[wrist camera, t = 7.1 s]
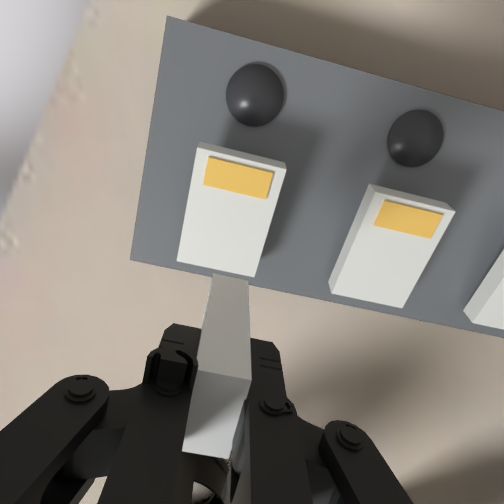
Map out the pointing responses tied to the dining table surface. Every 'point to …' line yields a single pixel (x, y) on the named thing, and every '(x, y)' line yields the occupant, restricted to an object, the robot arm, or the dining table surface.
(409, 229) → the rocker mid
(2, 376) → the dining table surface
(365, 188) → the grey rocker switch panel
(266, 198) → the rocker
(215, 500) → the french press
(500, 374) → the dining table surface
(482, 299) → the plate
